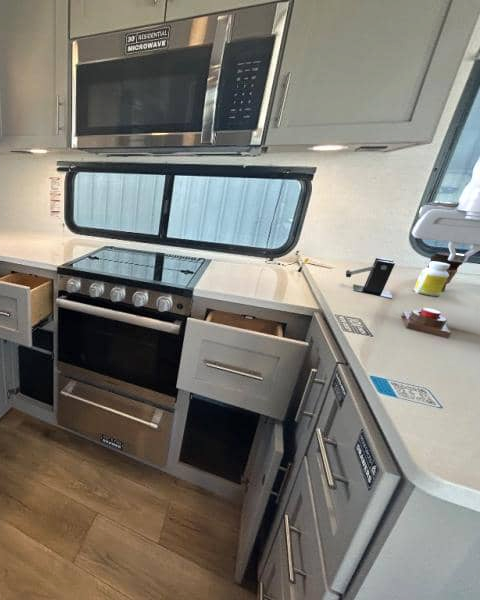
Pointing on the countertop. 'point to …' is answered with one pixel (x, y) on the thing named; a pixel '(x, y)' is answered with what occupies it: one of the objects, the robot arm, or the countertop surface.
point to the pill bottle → (432, 279)
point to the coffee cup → (444, 259)
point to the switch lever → (358, 271)
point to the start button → (430, 313)
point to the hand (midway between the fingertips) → (456, 261)
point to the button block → (426, 324)
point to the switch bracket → (377, 279)
